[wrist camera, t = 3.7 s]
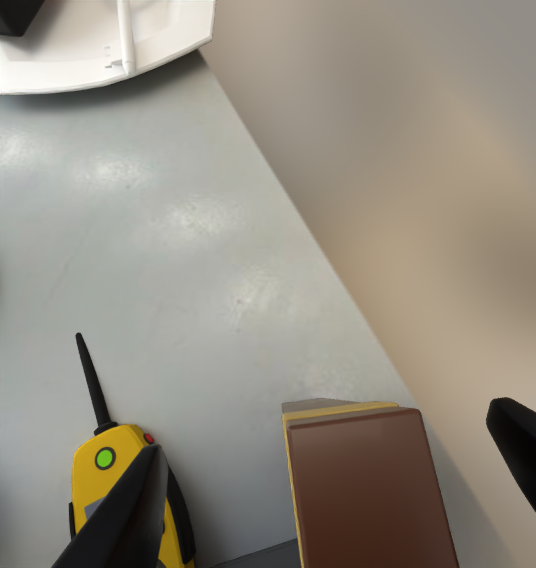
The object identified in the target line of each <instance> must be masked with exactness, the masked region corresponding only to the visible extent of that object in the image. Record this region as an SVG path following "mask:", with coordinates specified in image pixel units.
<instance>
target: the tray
mask: <svg viewBox="0 0 536 568" xmlns="http://www.w3.org/2000/svg"><path fill="white" fill-rule="evenodd" d="M210 568H301V561H300V553H299V545H298V538H297V539H294V540H291V541H288V542H285V543H282V544H279V545H276V546H273V547H270V548H267V549H264V550H261V551H258V552H255V553H252V554H249V555H246V556H243V557H240V558H237V559H234V560H231V561H228V562H225V563H222V564H219V565H216V566H213V567H210Z"/></svg>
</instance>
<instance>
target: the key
mask: <svg viewBox="0 0 536 568" xmlns="http://www.w3.org/2000/svg"><path fill="white" fill-rule="evenodd" d="M117 7H118V18H119V28H120V39H118V40H115V41H111V42H107V43H104V48H105V49H110V50H107V51H105V52H106V57H111V58H108V59H104V66H105V68H112V65H123V70H124V72H125V73H126V74H127V75H130V76H132V75H134V74H135V73H136V62H135V52H134V42H133V32H132V21H131V11H130V0H117Z"/></svg>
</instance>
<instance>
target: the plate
mask: <svg viewBox="0 0 536 568" xmlns="http://www.w3.org/2000/svg"><path fill="white" fill-rule="evenodd" d="M215 6H216V0H130V11H131V21H132V32H133V42H134V52H135V62H136V73H135V74H134V75H132V76H130V75H127V74H126V73H125V72H124V70H123V65H112V68H105V66H104V59H108V58H111V57H106V52H105V51H107V50H110V49H105V48H104V43H107V42H111V41H115V40H118V39H120V28H119V18H118V7H117V0H45V1H44V3H43V4H42V6H41V8H40V9H39V11H38V13H37V14H36V16H35V17H34V19H33V21H32V22H31V24H30V26H29V27H28V29H27V31H26V32H25V34H24V35H23V36H22V37H11V36H3V35H0V95H22V94H48V93H59V92H70V91H78V90H84V89H90V88H96V87H102V86H106V85H109V84H113V83H116V82H119V81H122V80H125V79H129V78H132V77H134V76H137V75H139V74H142V73H144V72H147V71H149V70H152V69H154V68H157V67H159V66H161V65H164V64H166V63H168V62H170V61H172V60H174V59H176V58H179V57H181V56H183V55H185V54H187V53H189V52H191V51H193V50H195V49H197V48H199V47H201V46H203V45H205V44H207V43H209V42H211V41H212V33H213V25H214V18H215Z"/></svg>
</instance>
